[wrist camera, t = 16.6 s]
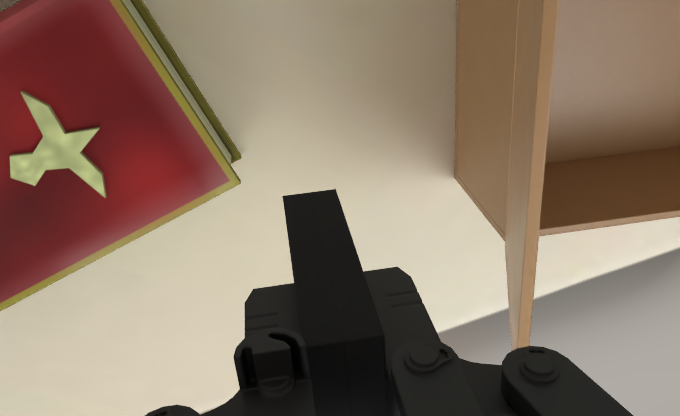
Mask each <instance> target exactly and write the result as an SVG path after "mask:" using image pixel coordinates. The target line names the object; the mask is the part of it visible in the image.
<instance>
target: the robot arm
mask: <svg viewBox="0 0 680 416" xmlns="http://www.w3.org/2000/svg"><path fill="white" fill-rule="evenodd" d="M283 201H284V209H285V216H286V224H287V231H288V239H289V247H290V254H291V262H292V269H293V277H294V283H292V284H285V285H278V286H271V287H264V288H257V289H253V291H252V292H251V294H250V295H249V297H248V299H247V300H246V302H245V339H244V340H243V341H242V342H241V343H240V344H239V345H238V346H237V347H236V351H235V354H234V362H235V366H236V371H237V376H238V381H239V386H240V390H239V391H238V392H237V393H236V395H235V396H234V397H233V398H231V399H230V400H229V401H228V402H226V403H225V404H223V405H221V406H219V407H217V408H215V409H213V410H211V411H208V412H206V413H204V414H201V415H199V413H198V412H196V411H195V410H193V409H192V408H190V407H186V406H181V405H173V406H166V407H162V408H159V409H157V410H154V411H152V412H149V413H148V414H147V415H145V416H633V415H632V414H631V413H630V412H629V411H627V410H626V409H625V408H624V407H623V406H622V405H620V404H619V403H618V402H617V401H616V400H615V399H614V398H612V397H611V396H610V395H609V394H608V393H607V392H606V391H604V390H603V389H602V388H601V387H600V386H599V385H597V384H596V383H595V382H594V381H593V380H592V379H591V378H590V377H588V376H587V375H586V374H585V373H584V372H583V371H582V370H580V369H579V368H578V367H577V366H576V365H575V364H573V363H572V362H571V361H570V360H569V359H568V358H566V357H565V356H563V355H561V354H560V353H558V352H557V351H554V350H550V349H547V348H544V347H535V346H526V347H521V348H516V349H515V350H513V351H511V352H510V353H508V354H507V355H506V357H505V359H504V360H503V362H502V365H492V364H480V363H474V362H469V361H466V360H463V359H460V358H458V356H457V354H456V353H455V352H454V351H453V349H452V348H451V347H449V346H447V345H445V344H443V343H442V342H441V341H440V339H439V337H438V334H437V332H436V330H435V328H434V326H433V323H432V321H431V319H430V317H429V315H428V313H427V310H426V308H425V306H424V304H422V300H421V298H420V295H419V293H417V289H416V287H415V285H414V282H413V280H412V278H411V277H410V276H409V275H408V274H406V273H405V272H404V271H402V270H401V269H400V268H398V267H392V268H385V269H379V270H372V271H365V272H363V270H362V267H361V264H360V261H359V258H358V255H357V252H356V249H355V246H354V243H353V240H352V237H351V234H350V231H349V228H348V225H347V222H346V219H345V216H344V213H343V210H342V207H341V204H340V201H339V198H338V195H337V192H336V189H334V190H326V191H318V192H311V193H303V194H295V195H288V196H283Z"/></svg>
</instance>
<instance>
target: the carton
mask: <svg viewBox="0 0 680 416" xmlns="http://www.w3.org/2000/svg"><path fill="white" fill-rule="evenodd" d="M518 15H519V0H457V47H456V124H455V179H456V180H457V182H458V183H459V184H460V185H461V187H462V188H463V189H464V191H465V192H466V193H467V194H468V196H469V197H470V198H471V199H472V201H473V202H474V203H475V204H476V206H477V207H478V208H479V210H480V211H481V212H482V213H483V215H484V216H485V217H486V218H487V220H488V221H489V222H490V223H491V225H492V226H493V227H494V228H495V230H496V231H497V232H498V234H499V235H500V236H501V237H502V239H503V240H504V241H505V238H506V221H507V204H508V186H509V169H510V152H511V135H512V118H513V101H514V84H515V67H516V49H517V32H518ZM673 217H680V0H559V10H558V22H557V33H556V45H555V56H554V68H553V79H552V90H551V102H550V113H549V125H548V136H547V148H546V159H545V170H544V182H543V193H542V205H541V216H540V228H539V236H544V235H552V234H559V233H566V232H573V231H580V230H587V229H594V228H601V227H609V226H616V225H623V224H630V223H637V222H644V221H651V220H659V219H666V218H673Z"/></svg>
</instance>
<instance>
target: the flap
mask: <svg viewBox="0 0 680 416" xmlns="http://www.w3.org/2000/svg"><path fill="white" fill-rule="evenodd" d="M558 10H559V0H519V15H518V32H517V49H516V67H515V84H514V101H513V118H512V135H511V152H510V169H509V186H508V204H507V221H506V238H505V255H506V270H507V285H508V300H509V315H510V329H511V343H512V344H511V345H512V351H513V350H515V349H516V348H521V347H526V346H529V342H530V330H531V319H532V308H533V296H534V285H535V273H536V262H537V250H538V239H539V228H540V216H541V205H542V193H543V182H544V170H545V159H546V148H547V136H548V125H549V113H550V102H551V90H552V79H553V68H554V56H555V45H556V33H557V22H558Z"/></svg>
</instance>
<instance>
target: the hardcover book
mask: <svg viewBox="0 0 680 416" xmlns="http://www.w3.org/2000/svg"><path fill="white" fill-rule="evenodd" d="M239 159H241V155H240V153H239V152H238V150H237V148H236V147H235V145H234V144H233V142H232V141H231V139H230V137H229V136H228V134H227V133H226V131H225V130H224V128H223V127H222V125H221V123H220V122H219V120H218V119H217V117H216V116H215V114H214V113H213V111H212V109H211V108H210V106H209V105H208V103H207V102H206V100H205V98H204V97H203V95H202V94H201V92H200V91H199V89H198V88H197V86H196V84H195V83H194V81H193V80H192V78H191V77H190V75H189V74H188V72H187V70H186V69H185V67H184V66H183V64H182V63H181V61H180V59H179V58H178V56H177V55H176V53H175V52H174V50H173V49H172V47H171V45H170V44H169V42H168V41H167V39H166V38H165V36H164V35H163V33H162V31H161V30H160V28H159V27H158V25H157V24H156V22H155V21H154V19H153V17H152V16H151V14H150V13H149V11H148V10H147V8H146V6H145V5H144V3H143V2H142V0H21V1H20V2H18V3H16V4H15V5H13V6H11V7H9V8H8V9H6V10H4V11H3V12H1V13H0V311H1V310H3V309H5V308H7V307H9V306H11V305H13V304H15V303H16V302H18V301H20V300H22V299H24V298H26V297H28V296H30V295H32V294H33V293H35V292H37V291H39V290H41V289H43V288H45V287H47V286H48V285H50V284H52V283H54V282H56V281H58V280H60V279H62V278H64V277H65V276H67V275H69V274H71V273H73V272H75V271H77V270H79V269H80V268H82V267H84V266H86V265H88V264H90V263H92V262H94V261H96V260H97V259H99V258H101V257H103V256H105V255H107V254H109V253H111V252H112V251H114V250H116V249H118V248H120V247H122V246H124V245H126V244H128V243H129V242H131V241H133V240H135V239H137V238H139V237H141V236H143V235H144V234H146V233H148V232H150V231H152V230H154V229H156V228H158V227H160V226H161V225H163V224H165V223H167V222H169V221H171V220H173V219H175V218H176V217H178V216H180V215H182V214H184V213H186V212H188V211H190V210H192V209H193V208H195V207H197V206H199V205H201V204H203V203H205V202H207V201H208V200H210V199H212V198H214V197H216V196H218V195H220V194H222V193H224V192H225V191H227V190H229V189H231V188H233V187H235V186H237V185H239V184H240V183H241V180H240V179H239V177H238V176H237V174H236V173H235V171H234V170H233V168H232V167H231V163H233V162H235V161H237V160H239Z"/></svg>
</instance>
